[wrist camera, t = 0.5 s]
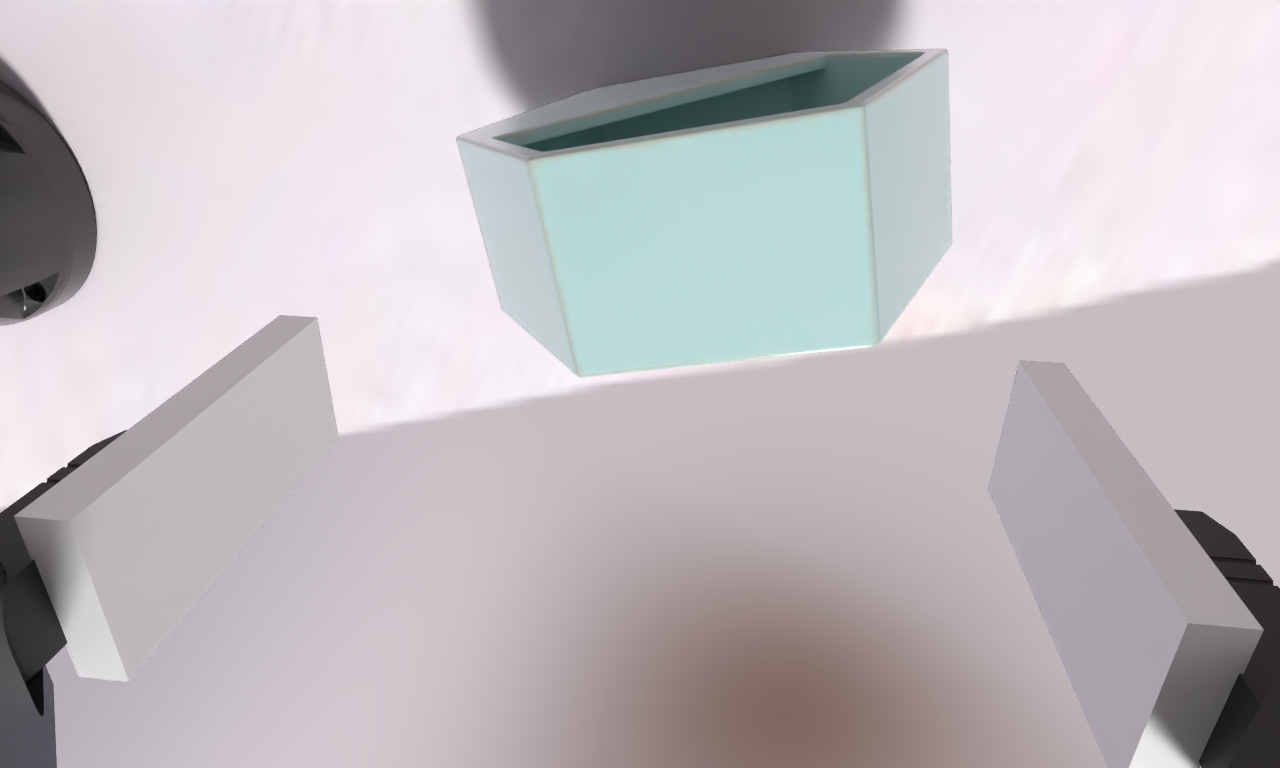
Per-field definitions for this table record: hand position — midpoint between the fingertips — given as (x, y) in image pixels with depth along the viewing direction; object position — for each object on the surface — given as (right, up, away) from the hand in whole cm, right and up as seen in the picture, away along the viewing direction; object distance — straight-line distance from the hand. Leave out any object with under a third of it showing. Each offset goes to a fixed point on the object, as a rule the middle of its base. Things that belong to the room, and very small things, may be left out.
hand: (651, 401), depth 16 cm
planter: (+4, +12, +26) cm, 29 cm away
